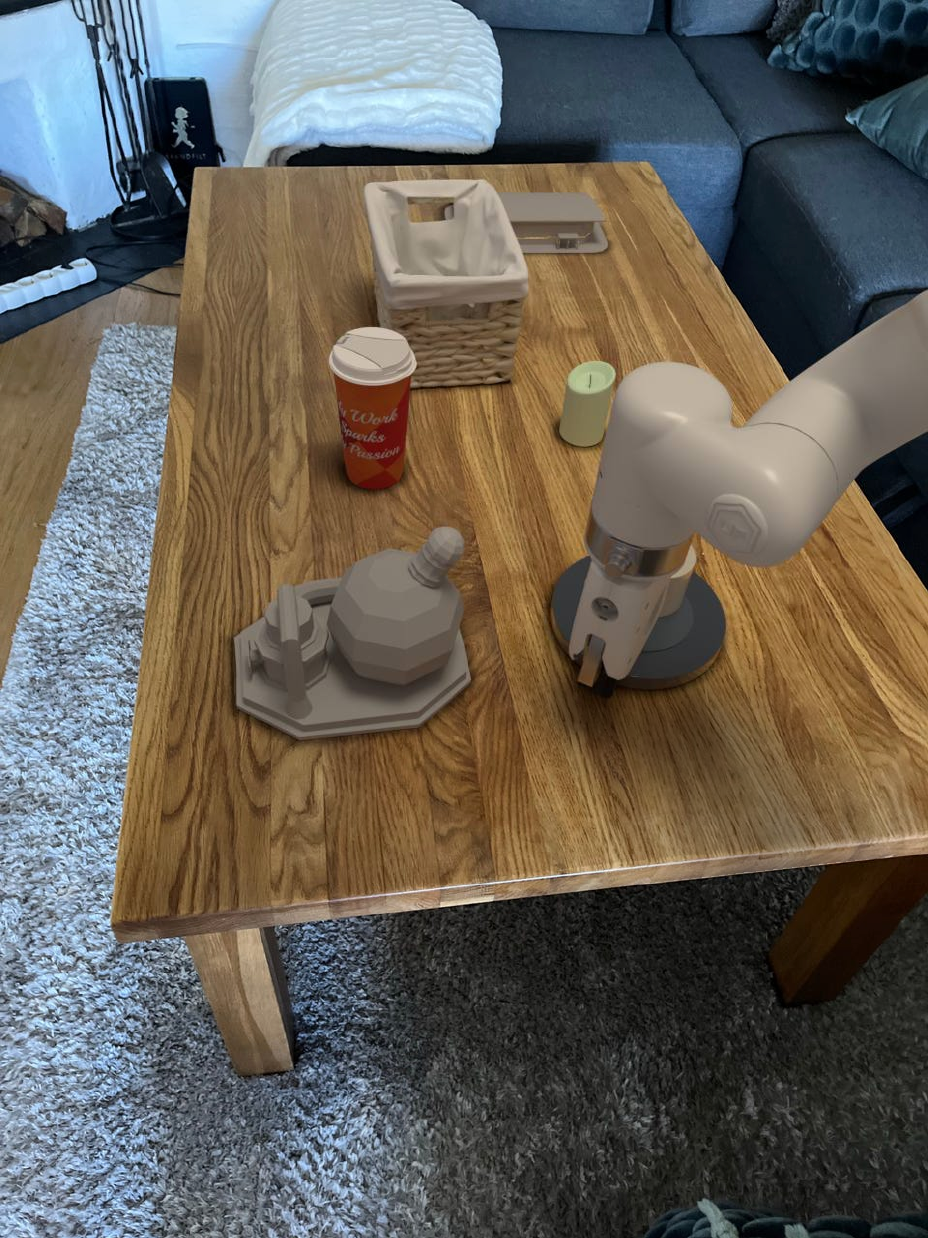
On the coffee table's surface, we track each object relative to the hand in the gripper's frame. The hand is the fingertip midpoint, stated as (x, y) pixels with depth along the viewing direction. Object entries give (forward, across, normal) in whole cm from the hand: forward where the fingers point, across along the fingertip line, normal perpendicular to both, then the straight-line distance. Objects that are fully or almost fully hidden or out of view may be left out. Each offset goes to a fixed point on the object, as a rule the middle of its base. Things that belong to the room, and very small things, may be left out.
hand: (597, 685), depth 81 cm
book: (+1, +74, +42) cm, 85 cm away
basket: (+1, +41, +38) cm, 56 cm away
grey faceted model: (+1, -8, +20) cm, 21 cm away
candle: (+1, +33, +15) cm, 37 cm away
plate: (+1, +10, 0) cm, 10 cm away
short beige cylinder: (-1, +12, 0) cm, 12 cm away
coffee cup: (+1, +15, +32) cm, 35 cm away
